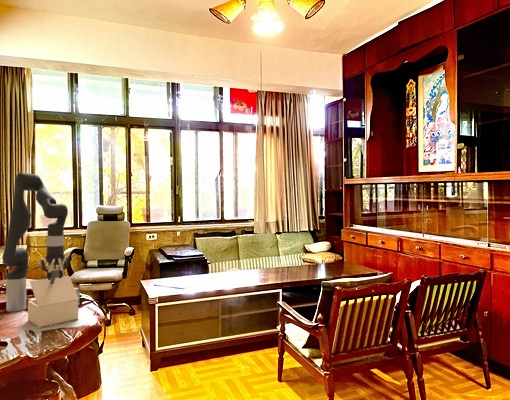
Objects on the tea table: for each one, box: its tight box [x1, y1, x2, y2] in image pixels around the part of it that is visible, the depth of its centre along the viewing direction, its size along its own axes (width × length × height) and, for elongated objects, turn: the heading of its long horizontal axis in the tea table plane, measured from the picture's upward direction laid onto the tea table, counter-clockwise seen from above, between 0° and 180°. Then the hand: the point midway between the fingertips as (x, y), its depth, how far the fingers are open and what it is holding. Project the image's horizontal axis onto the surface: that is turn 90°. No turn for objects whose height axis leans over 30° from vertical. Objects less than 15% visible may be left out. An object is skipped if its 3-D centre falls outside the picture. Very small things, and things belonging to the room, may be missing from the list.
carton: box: [27, 299, 79, 329], centre depth 193 cm, size 16×18×10 cm
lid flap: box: [29, 269, 79, 307], centre depth 190 cm, size 16×18×9 cm
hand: (54, 278), depth 191 cm, fingers closed on lid flap, 4 cm apart
